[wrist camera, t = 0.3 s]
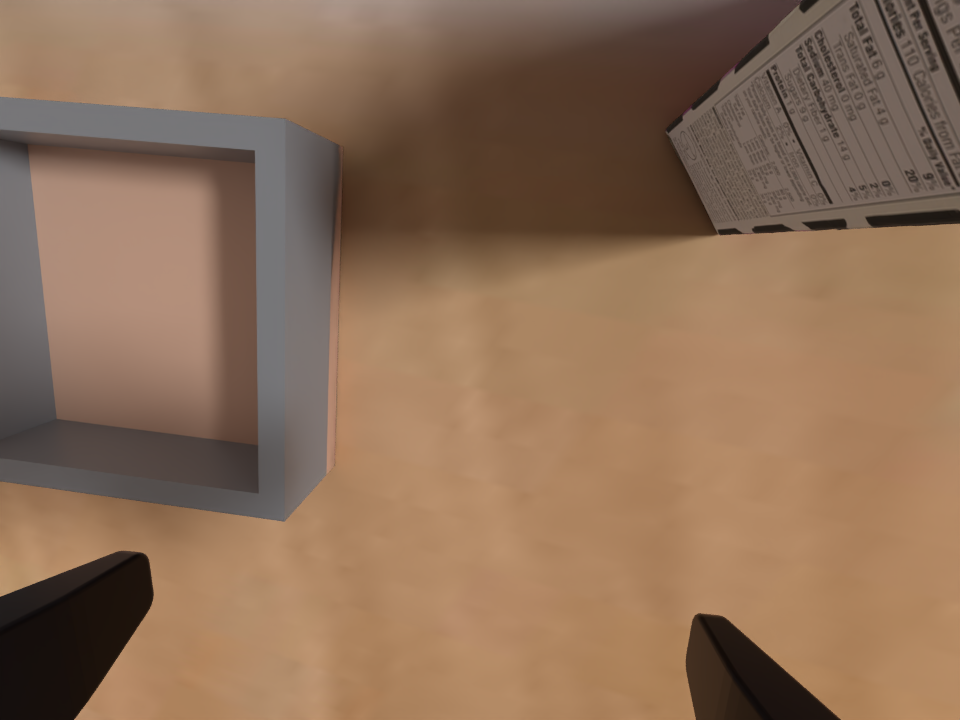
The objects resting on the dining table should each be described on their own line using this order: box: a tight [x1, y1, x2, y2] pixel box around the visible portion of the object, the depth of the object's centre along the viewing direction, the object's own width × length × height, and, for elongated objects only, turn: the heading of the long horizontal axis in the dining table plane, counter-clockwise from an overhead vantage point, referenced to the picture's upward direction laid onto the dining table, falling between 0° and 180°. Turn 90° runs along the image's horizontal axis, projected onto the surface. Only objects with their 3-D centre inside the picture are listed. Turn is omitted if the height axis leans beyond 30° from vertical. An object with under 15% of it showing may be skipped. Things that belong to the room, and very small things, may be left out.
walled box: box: [0, 97, 343, 522], centre depth 21 cm, size 14×14×5 cm
